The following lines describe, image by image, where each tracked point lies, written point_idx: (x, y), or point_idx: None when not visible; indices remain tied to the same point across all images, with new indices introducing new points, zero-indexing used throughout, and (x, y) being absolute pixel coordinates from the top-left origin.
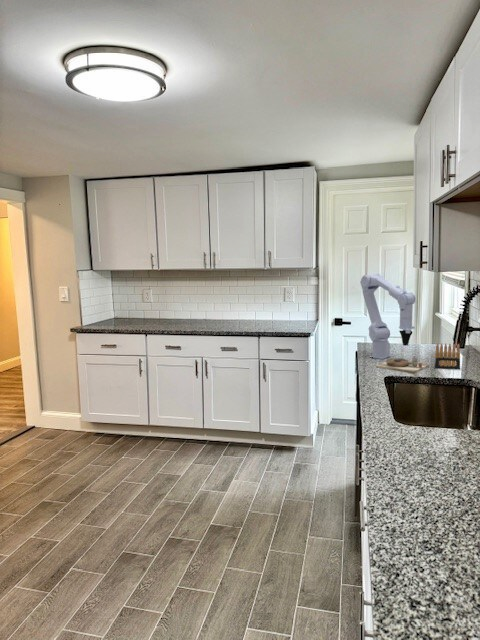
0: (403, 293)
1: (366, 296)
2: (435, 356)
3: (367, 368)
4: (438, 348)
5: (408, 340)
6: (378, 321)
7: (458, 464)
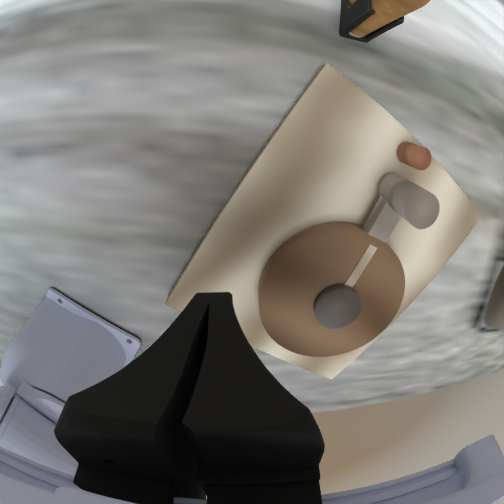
0: None
1: None
2: (396, 17)
3: (346, 393)
4: None
5: (238, 334)
6: None
7: None
